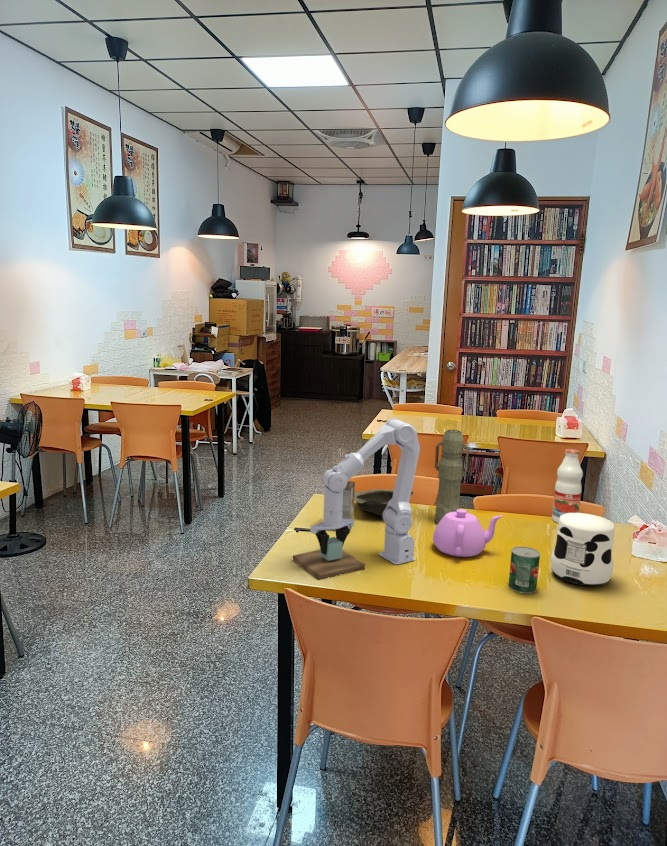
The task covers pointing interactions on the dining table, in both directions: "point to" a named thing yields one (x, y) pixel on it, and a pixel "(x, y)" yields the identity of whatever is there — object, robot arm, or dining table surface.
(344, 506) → the coffee box
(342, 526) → the robot arm
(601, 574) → the milk container
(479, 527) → the teapot
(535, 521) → the dining table surface
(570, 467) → the fruit juice
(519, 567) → the canned tomato
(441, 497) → the thermos
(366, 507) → the stone bowl
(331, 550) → the teal cube
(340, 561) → the walnut board
